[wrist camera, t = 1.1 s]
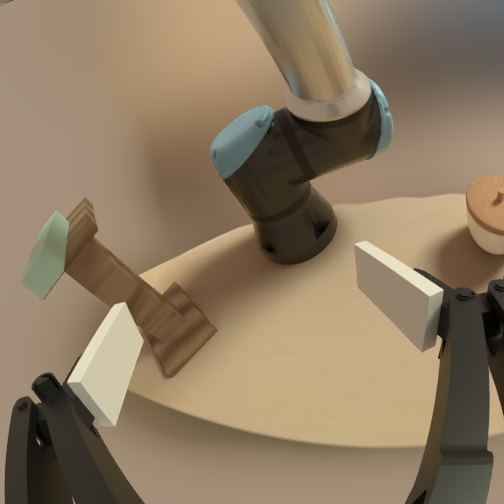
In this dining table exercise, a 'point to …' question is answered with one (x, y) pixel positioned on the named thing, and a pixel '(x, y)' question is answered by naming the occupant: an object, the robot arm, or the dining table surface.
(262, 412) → the dining table surface
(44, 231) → the sage bar
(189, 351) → the walnut stand
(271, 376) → the dining table surface
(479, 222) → the lidded jar
